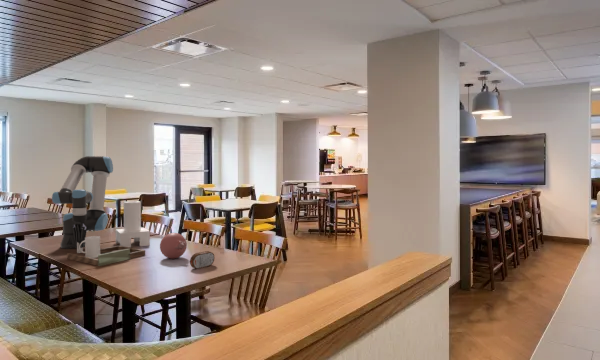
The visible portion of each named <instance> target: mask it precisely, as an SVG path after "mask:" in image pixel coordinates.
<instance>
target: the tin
mask: <svg viewBox="0 0 600 360" xmlns="http://www.w3.org/2000/svg"><path fill="white" fill-rule="evenodd" d="M214 262H215V254H214V253H213V252H212V251H210V250H206V251H200V252H195V253H194V254H192V256H191V257H190V259H189V264H190V265H189V266H190V267H192V268H193V269H198V268H199V269H201V268H202V267H203V268H207V267H206V266H208V267H210V266H212V265H213V263H214ZM203 268H202V269H203Z"/></svg>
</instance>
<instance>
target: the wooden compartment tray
mask: <svg viewBox="0 0 600 360" xmlns="http://www.w3.org/2000/svg"><path fill="white" fill-rule="evenodd" d="M66 254H67V256H66V258H67V260H71V261H76V262H81V263H85V264H90V265H94V266H99V267H102V266H107V265H110V264H115V263H118V262H119V263H120V262H123V261H127V260H130V259H134V258H139V257H143V256H146V250H145V249H139V248H134V247H124V246H120V245H115V246H110V247H104V248H101V247H100V255H98V257H97V258H90V257H85V255H80V254H76V253H70V252H69V253H66Z"/></svg>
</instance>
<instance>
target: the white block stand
mask: <svg viewBox="0 0 600 360" xmlns="http://www.w3.org/2000/svg"><path fill="white" fill-rule="evenodd" d="M141 207H142V204H141V201H140V200H139V201H137V200H130V201H123V228H120V229H119V228H118V229H117V228H116V229H115V244H119V246H124V247H130V248H132V239H133V242H139V247H147V246H150V244H151V242H150V240H151V237H150V234H151V232H150V230H149V229H147V228H145V227H142V226H141V225H142V224H141V223H142V220H141V219H142V214H141V213H142V212H141V211H142V208H141Z"/></svg>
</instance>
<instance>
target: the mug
mask: <svg viewBox="0 0 600 360" xmlns="http://www.w3.org/2000/svg"><path fill="white" fill-rule="evenodd" d="M83 242H85V246H84V247H85V248H84V250H83V251H82V250H81V249H80V246H81V244H82V243H83ZM100 248H101V236H100V235H99V236H98V235H92V236H91V235H90V236H86V237H85V240H84V241H82V242H81V243H80V245H79V249H80V251H81V252H82V253H81V254H85V255H84V256H85V257H90V258H95V259H98V255H100Z"/></svg>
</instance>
